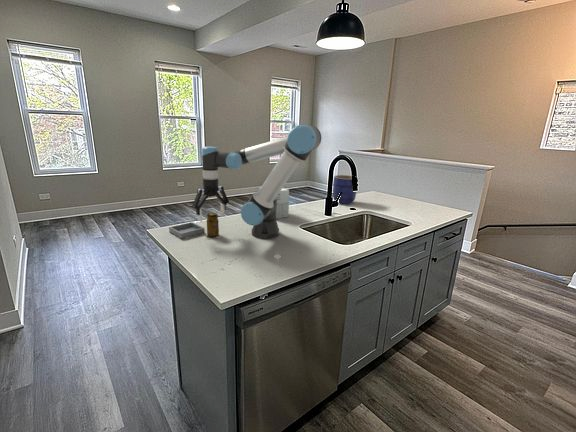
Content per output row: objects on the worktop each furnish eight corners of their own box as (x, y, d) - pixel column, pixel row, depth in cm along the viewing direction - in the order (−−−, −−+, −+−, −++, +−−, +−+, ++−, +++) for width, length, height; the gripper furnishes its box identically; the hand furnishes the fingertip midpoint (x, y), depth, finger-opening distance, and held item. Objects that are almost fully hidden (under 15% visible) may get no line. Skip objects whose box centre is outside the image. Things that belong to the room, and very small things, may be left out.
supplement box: (289, 216, 195) (290, 189, 190) (271, 219, 188) (272, 191, 183) (275, 210, 209) (275, 185, 204) (258, 213, 202) (258, 186, 196)
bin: (204, 233, 162) (204, 228, 161) (181, 239, 152) (181, 233, 152) (192, 227, 170) (191, 222, 170) (169, 232, 161) (168, 227, 160)
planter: (331, 204, 229) (333, 178, 222) (332, 199, 246) (334, 174, 240) (356, 206, 226) (358, 179, 220) (354, 200, 243) (357, 175, 237)
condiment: (218, 232, 164) (217, 211, 160) (221, 237, 156) (221, 216, 153) (204, 234, 161) (203, 212, 157) (207, 239, 153) (206, 217, 150)
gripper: (226, 174, 160) (227, 212, 167) (183, 179, 143) (185, 221, 149) (235, 177, 156) (235, 215, 162) (191, 182, 138) (193, 225, 145)
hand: (211, 218), depth 156 cm, fingers open, 13 cm apart
